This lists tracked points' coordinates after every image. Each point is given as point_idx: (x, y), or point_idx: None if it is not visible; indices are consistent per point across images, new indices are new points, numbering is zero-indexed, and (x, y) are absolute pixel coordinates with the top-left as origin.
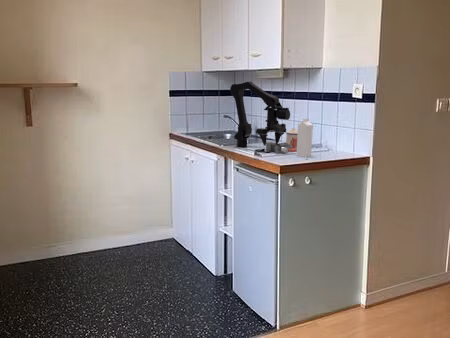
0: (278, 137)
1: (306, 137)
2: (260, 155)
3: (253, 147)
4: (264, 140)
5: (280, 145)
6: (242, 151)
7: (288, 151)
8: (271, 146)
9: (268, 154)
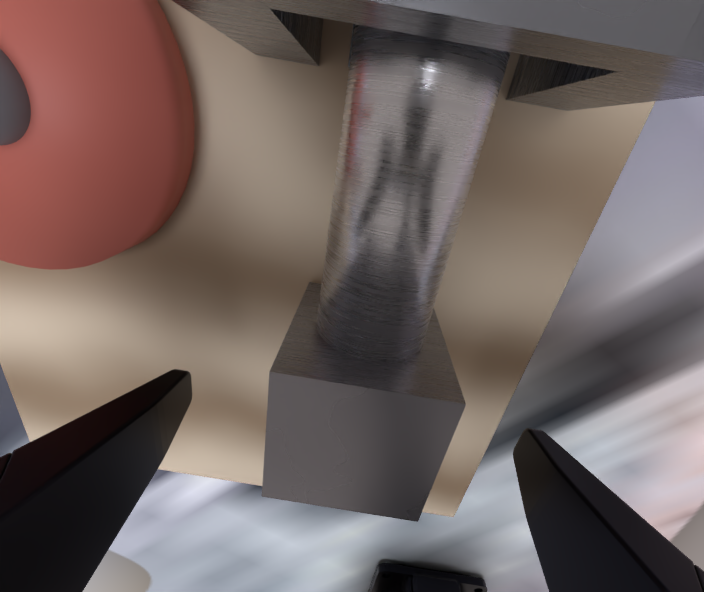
0: (6, 533)
1: None
2: (673, 292)
3: (267, 572)
4: (687, 576)
5: None
6: None
7: (157, 1)
8: (423, 347)
9: None
